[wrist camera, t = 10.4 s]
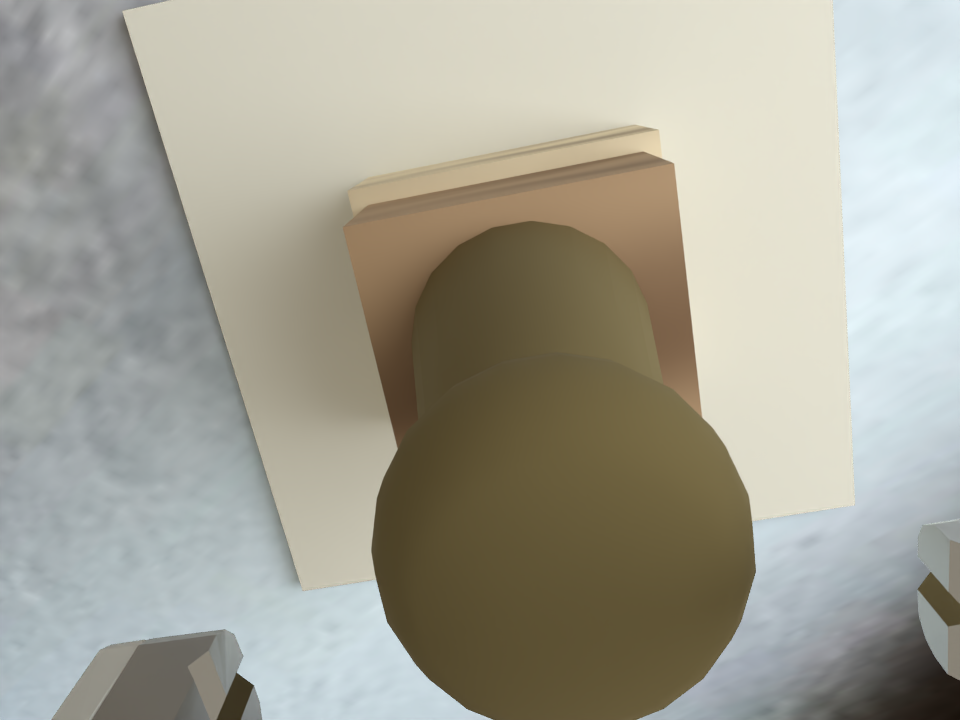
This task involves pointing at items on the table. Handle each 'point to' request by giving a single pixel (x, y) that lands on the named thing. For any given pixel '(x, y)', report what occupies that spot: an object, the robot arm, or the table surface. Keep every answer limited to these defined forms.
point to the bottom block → (505, 164)
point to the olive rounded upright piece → (555, 493)
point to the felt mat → (487, 129)
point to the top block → (531, 197)
